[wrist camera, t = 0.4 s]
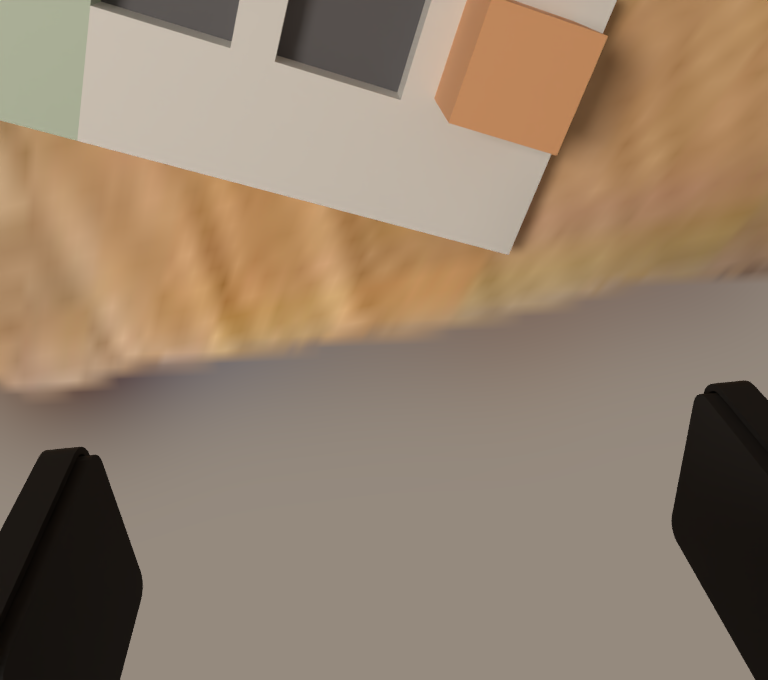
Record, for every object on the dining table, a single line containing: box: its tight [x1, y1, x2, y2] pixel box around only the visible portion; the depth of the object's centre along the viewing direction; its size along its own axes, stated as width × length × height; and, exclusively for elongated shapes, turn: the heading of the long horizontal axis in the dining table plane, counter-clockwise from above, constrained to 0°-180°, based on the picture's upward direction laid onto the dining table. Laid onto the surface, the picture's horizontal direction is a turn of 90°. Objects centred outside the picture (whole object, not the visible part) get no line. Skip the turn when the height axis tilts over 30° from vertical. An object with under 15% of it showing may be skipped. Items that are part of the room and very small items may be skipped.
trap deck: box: [0, 0, 617, 255], centre depth 33 cm, size 13×29×2 cm, turn 73°
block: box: [434, 0, 608, 156], centre depth 31 cm, size 5×5×4 cm
